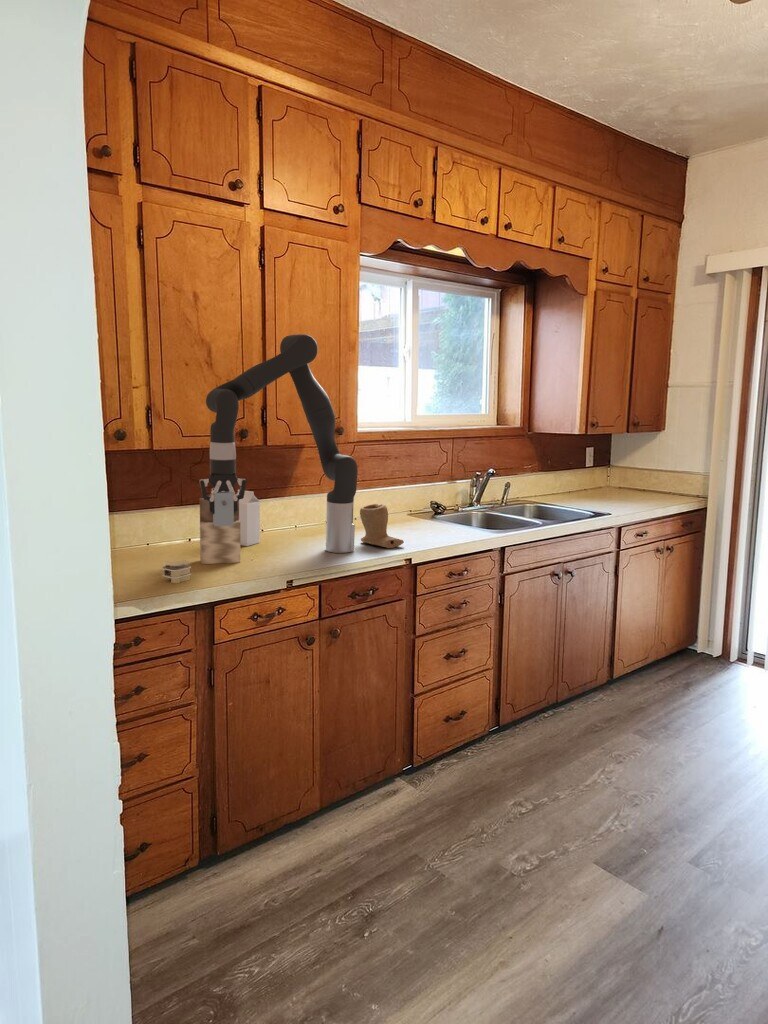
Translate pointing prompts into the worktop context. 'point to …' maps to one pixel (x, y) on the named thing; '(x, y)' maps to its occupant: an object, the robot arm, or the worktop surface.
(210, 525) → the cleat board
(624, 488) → the worktop surface
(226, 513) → the blue-grey block
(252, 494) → the milk carton
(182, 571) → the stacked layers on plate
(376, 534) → the tan boot vase
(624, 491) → the worktop surface
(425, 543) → the worktop surface
